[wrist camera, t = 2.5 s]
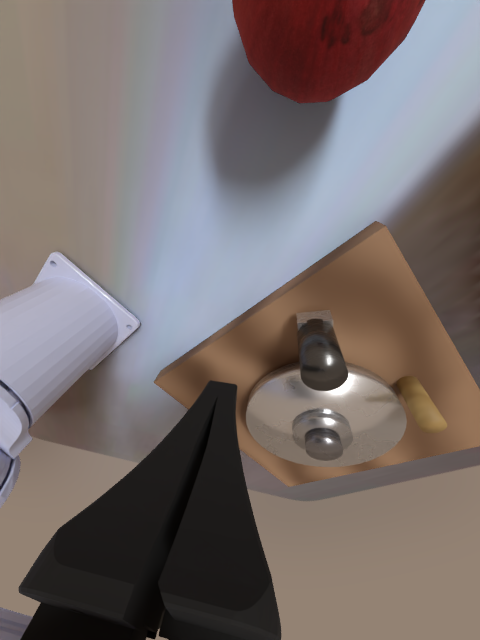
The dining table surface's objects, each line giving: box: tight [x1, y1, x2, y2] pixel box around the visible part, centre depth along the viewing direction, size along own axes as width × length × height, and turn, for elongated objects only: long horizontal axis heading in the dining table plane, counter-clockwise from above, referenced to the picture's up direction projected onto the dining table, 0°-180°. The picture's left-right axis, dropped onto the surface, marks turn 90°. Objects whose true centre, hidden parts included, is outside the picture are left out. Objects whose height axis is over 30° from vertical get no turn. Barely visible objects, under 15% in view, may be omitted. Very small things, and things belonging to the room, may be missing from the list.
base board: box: [154, 221, 480, 487], centre depth 19 cm, size 21×21×5 cm
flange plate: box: [246, 310, 407, 467], centre depth 17 cm, size 16×12×4 cm
